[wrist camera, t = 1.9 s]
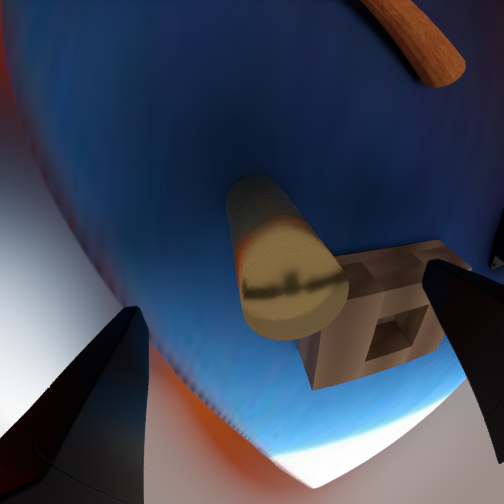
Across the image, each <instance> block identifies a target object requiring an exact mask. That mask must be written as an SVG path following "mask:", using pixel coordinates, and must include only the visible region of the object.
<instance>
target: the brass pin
mask: <svg viewBox="0 0 504 504" xmlns="http://www.w3.org/2000/svg"><path fill="white" fill-rule="evenodd" d="M226 210H227V217H228V223H229V230H230V236H231V243H232V249H233V255H234V262H235V268H236V274H237V280H238V286H239V292H240V298H241V304H242V310H243V315H244V318H245V321H246V322H247V324H248V325H249V327H250V328H251V329H252V330H253V331H255V332H256V333H257V334H259V335H261V336H263V337H265V338H269V339H272V340H281V341H288V340H296V339H301V338H304V337H307V336H310V335H312V334H315V333H316V332H318V331H320V330H322V329H323V328H325V327H326V326H327V325H329V324H330V323H331V322H332V321H333V320H334V319H335V318H336V317H337V316H338V315H339V313H340V312H341V310H342V309H343V307H344V305H345V303H346V300H347V297H348V291H349V284H348V279H347V276H346V274H345V272H344V270H343V269H342V268H341V266H340V265H339V263H338V262H337V261H336V259H335V258H334V256H333V255H332V254H331V252H330V251H329V250H328V248H327V247H326V246H325V244H324V243H323V242H322V240H321V239H320V237H319V236H318V235H317V234H316V232H315V231H314V230H313V228H312V227H311V226H310V224H309V223H308V222H307V220H306V219H305V218H304V216H303V215H302V214H301V213H300V211H299V210H298V209H297V207H296V206H295V205H294V204H293V202H292V201H291V200H290V199H289V197H288V196H287V195H286V194H285V192H284V191H283V190H282V189H281V187H280V186H279V185H278V184H277V183H276V182H275V181H274V180H273V179H272V178H270V177H268V176H265V175H262V174H250V175H246V176H244V177H241V178H240V179H238V180H237V181H236V182H235V183H234V184H233V185H232V186H231V187H230V189H229V191H228V193H227V196H226Z"/></svg>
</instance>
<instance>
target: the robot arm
mask: <svg viewBox="0 0 504 504" xmlns="http://www.w3.org/2000/svg"><path fill="white" fill-rule="evenodd" d="M503 265H504V215H503V219H502V223H501V227H500V231H499V234H498V238H497V241H496V244H495V248H494V251H493V254H492V257H491V260H490V263H489V267H490V268H491V269H495V268H497V267H500V266H503ZM422 287H423V290H424V292H425V294H426V296H427V298H428V300H429V302H430V304H431V306H432V308H433V310H434V313H435V315H436V317H437V319H438V321H439V323H440V325H441V327H442V329H443V331H444V333H445V335H446V336H447V338H448V340H449V342H450V344H451V346H452V348H453V350H454V352H455V354H456V356H457V358H458V360H459V362H460V364H461V366H462V368H463V370H464V372H465V374H466V377H467V379H468V381H469V383H470V385H471V387H472V390H473V392H474V394H475V397H476V399H477V402H478V404H479V407H480V409H481V412H482V415H483V417H484V421H485V423H486V426H487V429H488V432H489V435H490V438H491V441H492V444H493V447H494V450H495V454H496V457H497V461H498V463H499V464H501V463H503V462H504V285H503V284H500V283H498V282H496V281H493V280H491V279H489V278H486V277H484V276H482V275H479V274H477V273H474V272H472V271H469V270H467V269H464V268H462V267H459V266H457V265H454V264H452V263H449V262H447V261H444V260H441V259H438V258H436V259H432V260H429V261H428V262H427V264H426V267H425V271H424V274H423V278H422ZM148 384H149V330H148V327H147V324H146V322H145V319H144V317H143V315H142V312H141V310H140V308H139V307H137V306H130V307H125V308H123V309H122V310H121V311H120V312H119V313H118V314H117V315H116V316H115V317H114V318H113V319H112V320H111V321H110V322H109V323H108V324H107V325H106V326H105V327H104V328H103V330H101V331H100V332H99V334H98V335H97V336H96V337H95V338H94V339H93V340H92V341H91V342H90V343H89V344H88V345H87V346H86V347H85V348H84V349H83V350H82V351H81V352H80V353H79V355H78V356H77V357H76V358H75V359H74V360H73V361H72V362H71V363H70V364H69V365H68V366H67V367H66V369H65V370H64V371H63V372H62V373H61V374H60V375H59V376H58V377H57V378H56V379H55V381H54V382H53V383H52V384H51V385H50V388H47V390H46V391H45V392H44V393H43V394H42V395H41V396H40V398H39V399H38V400H37V401H36V402H35V403H34V404H33V405H32V406H31V407H30V409H29V410H28V411H27V412H26V413H25V414H24V415H23V416H22V417H21V418H20V419H19V420H18V421H17V422H16V423H15V424H14V425H13V426H12V427H11V428H10V429H9V430H8V431H7V432H6V433H5V434H4V435H3V436H2V437H1V438H0V504H144V483H143V482H144V479H143V478H144V476H143V475H144V472H143V471H144V440H145V422H146V408H147V396H148Z"/></svg>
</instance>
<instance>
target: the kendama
mask: <svg viewBox="0 0 504 504" xmlns="http://www.w3.org/2000/svg"><path fill="white" fill-rule="evenodd" d="M360 1H361V2H362V3H363V4H364V5H365V6H366V7H367V8H368V10H369V11H370V12H371V13H372V14H373V15H374V16H375V18H376V19H377V20H378V21H379V22H380V23H381V25H382V26H383V27H384V28H385V30H386V31H387V32H388V33H389V35H390V36H391V37H392V38H393V40H394V41H395V42H396V44H397V45H398V46H399V48H400V49H401V51H402V52H403V53H404V55H405V56H406V58H407V59H408V61H409V62H410V64H411V65H412V67H413V68H414V70H415V71H416V73H417V74H418V76H419V77H420V79H421V81H422V82H423V83H424V84H425V85H427V86H428V87H435V88H437V87H442V86H447V85H449V84H451V83H453V82H455V81H456V80H457V79H458V78H459V77H460V76H462V74H463V72H464V70H465V60H464V59H463V58H462V56H461V55H460V54H459V52H458V51H457V50H456V49H455V47H454V46H453V45H452V44H451V43H450V41H449V40H448V39H447V38H446V37H445V36H444V34H443V33H442V32H441V31H440V30H439V29H438V28H437V27H436V26H435V25H434V23H433V22H432V21H431V20H430V19H429V18H428V17H427V16H426V15H425V14H424V13H423V12H422V11H421V10H420V9H419V8H418V7H417V6H416V5H415V4H414V3H412V2H411V1H410V0H360Z"/></svg>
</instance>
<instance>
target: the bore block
mask: <svg viewBox="0 0 504 504" xmlns="http://www.w3.org/2000/svg"><path fill="white" fill-rule="evenodd" d="M334 258H335V259H336V261H337V262H338V263H339V265H340V266H341V268H342V269H343V270H344V272H345V274H346V276H347V279H348V284H349V291H348V297H347V300H346V303H345V305H344V307H343V309H342V310H341V312H340V313H339V315H338V316H337V317H336V318H335V319H334V320H333V321H332V322H331V323H330V324H329V325H327V326H326V327H325V328H323V329H322V330H320V331H318V332H316V333H315V334H312V335H310V336H307V337H304V338H301V339H299V345H298V350H299V353H300V356H301V359H302V362H303V365H304V367H305V370H306V373H307V376H308V379H309V382H310V385H311V388H312V391H313V390H317V389H322V388H326V387H329V386H333V385H337V384H341V383H344V382H348V381H351V380H355V379H358V378H362V377H365V376H368V375H371V374H374V373H377V372H380V371H383V370H386V369H389V368H392V367H395V366H397V365H400V364H403V363H406V362H408V361H411V360H413V359H416V358H418V357H421V356H423V355H426V354H428V353H430V352H433V351H435V350H437V348H438V346H439V344H440V342H441V341H442V339H443V337H444V335H445V333H444V331H443V329H442V327H441V325H440V323H439V321H438V319H437V317H436V315H435V313H434V310H433V308H432V306H431V304H430V302H429V300H428V298H427V296H426V294H425V292H424V290H423V287H422V278H423V274H424V271H425V267H426V264H427V262H428V261H429V260H432V259H436V258H438V259H441V260H444V261H447V262H449V263H452V264H454V265H457V266H459V267H462V268H464V269H467V270H469V271H471V270H472V267H471V266H469V265H468V264H467V263H466V262H465V261H464V260H462V259H461V258H460V257H459V256H458V255H457V254H455V253H454V252H453V251H452V250H451V249H449V248H448V247H447V246H446V245H444V244H443V243H442V242H441V241H439V240H433V241H427V242H421V243H415V244H409V245H403V246H397V247H391V248H385V249H379V250H373V251H366V252H360V253H354V254H347V255H341V256H335V257H334Z"/></svg>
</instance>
